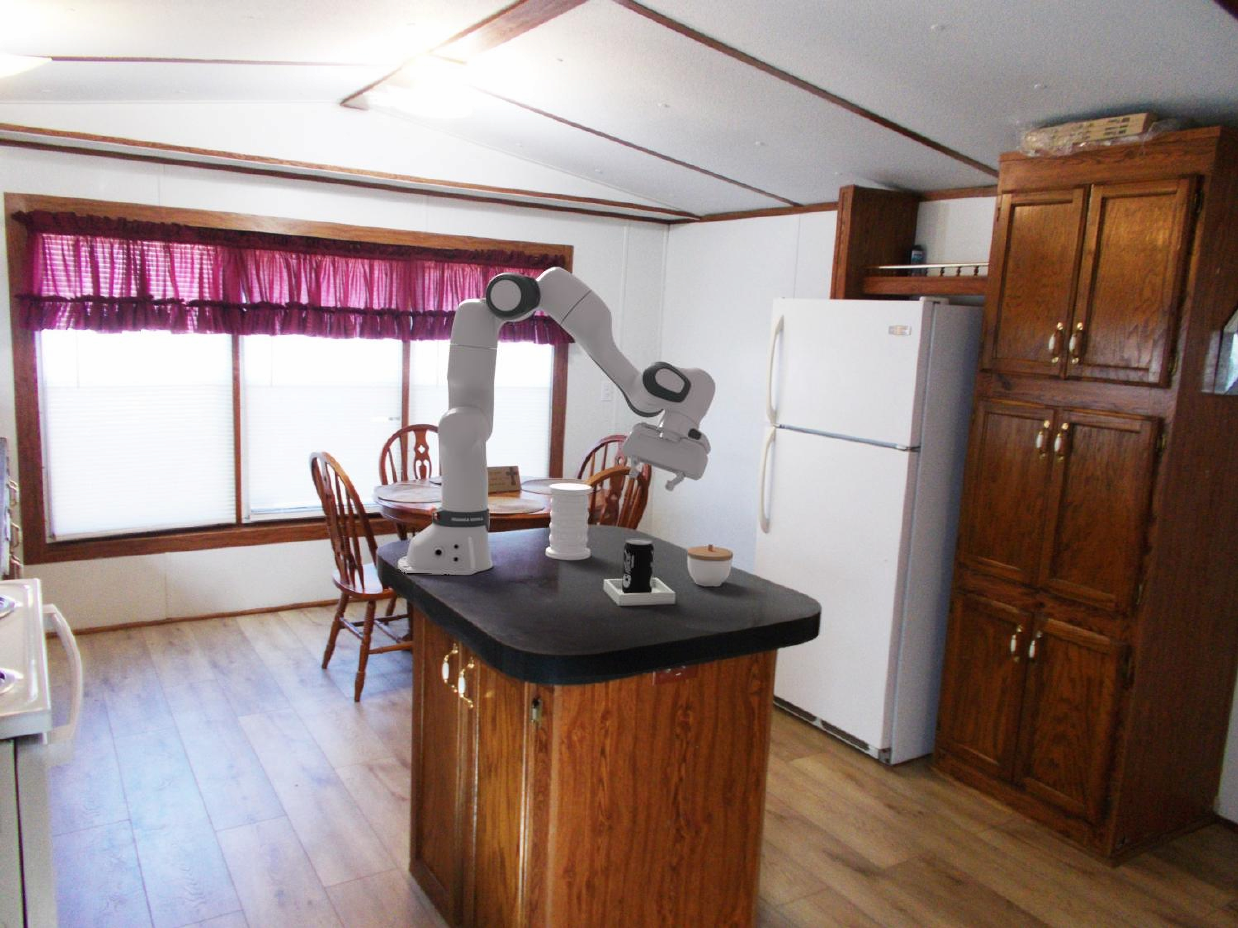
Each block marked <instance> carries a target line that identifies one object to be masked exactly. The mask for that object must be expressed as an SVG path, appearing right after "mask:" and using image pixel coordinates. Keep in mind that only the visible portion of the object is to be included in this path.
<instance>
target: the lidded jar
mask: <svg viewBox="0 0 1238 928" xmlns="http://www.w3.org/2000/svg"><path fill="white" fill-rule="evenodd" d="M713 544H714V543H713ZM713 544H712V543H708V544H707V545H701V546H700V545H699V546H692V547H689V548H688V549H687V550H686V555H687V556H686V557H687V562H686V563H687V565H686V566H687V570H688V574H689V575H690V577H691V578H692V579H693V580H694V583H695V585H698V586H702V587H707V586H715V587H720V586H721V585H722V583H723V582H725V581H726V580H727V579H728V578H729V575H730V572H731V570H732V565H733V564H732V563H733V558H734V553H733V551H731V550H730V549H727V548H724V547H717V546H714V545H713Z"/></svg>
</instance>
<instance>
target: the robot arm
mask: <svg viewBox="0 0 1238 928" xmlns="http://www.w3.org/2000/svg"><path fill="white" fill-rule="evenodd" d="M484 294H485V295H484V297H483V298H475V297H474V298H468V299H465V300H463V301H462V302H460V303H459V304H458V306H457V308H456V310H455V315H454V319H453V323H452V328H451V334H450V341H449V348H448V349H449V350H448V353H449V354H448V363H447V373H446V380H447V392H448V394H447V395H448V410H447V411H446V412H445V413H444V414H443V415H442V416H441V418H440V419H439V422H438V425H437V438H438V439H437V441H438V452H439V453H438V454H439V463H440V464H439V465H440V471H441V472H440V473H441V494H440V495H441V498H440V499H441V500H440V502H441V503H440V507H438V508H437V507H435V506H432V507H430V509H429V514H430V516H431V520H432V523H431V524H430V525H428V526H427V527H426V528H424V529H423V530H422V531H420V532H418V534H416V535H415V536H413V537H412V539H411V540H410V542H409V545H408V549H407V553H406V556H403V557H400V558H399V559H398V561H397V568H398V570H399V569H400V570H401V571H400V570H399V571H400V572H402V573H404V572H405V573H404V574H407V573H432V574H431V575H444V574H447V575H448V574H449V576H451V575H452V576H453V575H455V576H471V575H473V574H475V573H478V572H482V571H486V570H489V569H491V568H493V566H494V564H493V560H492V556H491V550H490V544H489V543H490V542H489V530H490V526H491V525H490V520H491V519H490V515H491V514H490V509H489V507H488V506H489V504H488V503H489V473H488V460H487V442H488V440H489V439H490V438H491V437H492V433H493V429H494V415H495V414H494V413H495V412H494V411H495V376H496V366H497V357H498V355H497V354H498V345H499V344H498V343H499V334H500V331H501V329H502V326H504V325H507V324H512V323H516V322H517V323H518V322H523V321H526V320H528V319H530V318H532V317H533V316H534V315H535V313H537V312H538V311H539V312H543V313H545V314H547V315H548V316H549V317H551V318H552V319H553V320H554V321H555V322H556V323H557V324H558V325H560V327H562V329H563V330H565V332H566V333H567V334H569V335H570V336H571V337H572V339H574V341H576V343H577V344H578V345H580V346H581V348H582V350H584V351H585V352H586V354H587V356H588V357H590V359H592V361H593V362H594V363H595V364H596V365H597V367H598V368H599V369H600V370H601V371H602V372H603V373H604V374H605V375H606V376H607V378H609V379H610V381H612V383H614V385H615V386H616V387H617V388H618V389H619V391H620V392H621V393H622V396H623V398H624V401H626V403H627V406H628V407H629V409H630V410H631V411H632V413H634V414H636V415H637V416H639V417H642V418H647V419H648V418H649V419H650V418H656V417H658V416H659V415H660V414H661V413H662V412H664V413H663V415H662V417H661V419H660V421H659V422H658V424H657V425H654V424H649V423H647V422H643V421H641V422H639V423H636V424H634V425H633V426H632V428H631V430H630V433H629V434H628V436H627V437H625V438H626V439H625V440H624V442H623V443H622V445H621V452H622V453H623V456H624V457H625V458H628V459H630V465H631V466H630V467H631V469H630V470H629V473H628V475H629V477H630V478H632V479H634V480H636V479H637V478H638V476H639V474H640V472H639V470H638V469H637V466H639V465H640V463H642V464H645V465H648V466H652V467H655V468H657V469H660V470H664V471H667V472H669V473H672V474H675V475H676V477H674V478H673V479H671V480H669V479H668V480H667V481H666V483H665V486H664V488H665V490H667V491H669V492H673V491H674V489H675V486H677V485H679V484H681V483H682V482H683V481H684V479H685V478H687V479H690V480H693V481H698V480H700V479H701V478H702V477H703V475H704V473H705V471H706V469H707V466H708V462H709V457H708V454H710V452H711V450H712V449H711V448H712V447H711V443H710V442H709V439H708V437H707V435H706V434H704V432H702V431H701V430H699V429H700V425H701V424H700V423H701V421H703V419H704V418H705V417H706V415H707V413H708V412H709V409H710V407H711V404H712V402H713V399H714V397H715V394H716V393H715V392H716V383H715V380H714V379H713V377H712V375H710V374H709V373H708V371H705V370H704V369H702V368H700V367H699V368H698V367H690V368H686V367H685V368H684V367H679V366H675V365H672V364H670V363H669V362H666V361H655V362H651V363H650V364H648V365H647V366H646V367H645V368H644V369H643V370H642V371H639V370H638V369H637V368H636V367H635V366H634V365H633V364H632V363H631V361H630V360H629V359H628V358H627V357H626V356H625V355H624V354H623V353H622V352H621V351H620V350H619V348H618V346H617V345H616V342H615V340H614V337H613V335H614V334H613V317H612V313H611V310H610V309H609V307H608V306H607V304H606V303H605V301H604V300H603V299H602V298H601V297H600V296H599V295H598V294H597V293H596V292H595V291H593V289H591V287H589V286H588V285H587V284H586V283H585V282H583V281H582V280H581V279H580V278H578V277H577V276H576V275H574V274H572V273H571V272H569V271H568V270H566V269H564V268H562V267H561V266H553V267H550V268H548V269H545V271H543V272H542V273H541V274H540V275H539V276H538V277H537V278H534V277H533V276H529V275H524V274H521V273H517V272H509V271H507V272H501V273H500V274H497V275H495V276H494V277H493V278H491V280H490V281H489V282H488V283H487V285H486V289H485V293H484Z"/></svg>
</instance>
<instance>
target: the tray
mask: <svg viewBox="0 0 1238 928" xmlns="http://www.w3.org/2000/svg"><path fill="white" fill-rule="evenodd" d="M602 590H603V591H604V592H605V593H606V594H607V595H608V596H609V597H610V598H611V600H612V601H613V602H614V603H615V604H616V605H617V606H618V607H620V606H622V607H625V606H628V607H629V606H647V605H648V606H652V605H674V604H676V592H675V591H674V590H672V589H671V588H670V587H669V586H668V585H666V584H665V583H664V582H663V581H662V580H660V579H659V578H658V577H653V578H652V592H651V593H628V594H624V592H623V591H622V578H608V579H605V578H604V579H603V589H602Z"/></svg>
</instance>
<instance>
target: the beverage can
mask: <svg viewBox="0 0 1238 928" xmlns="http://www.w3.org/2000/svg"><path fill="white" fill-rule="evenodd" d="M654 553H655V547H654V545H653V540H651V539H648V538H643V537H633V538H628V539H626V540H625V544H624V546H623V560H622V578H621V579H622V591H623V592H624V594H628V593H651V592H652V578H654V576H653V574H654V558H655V557H654Z"/></svg>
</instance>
